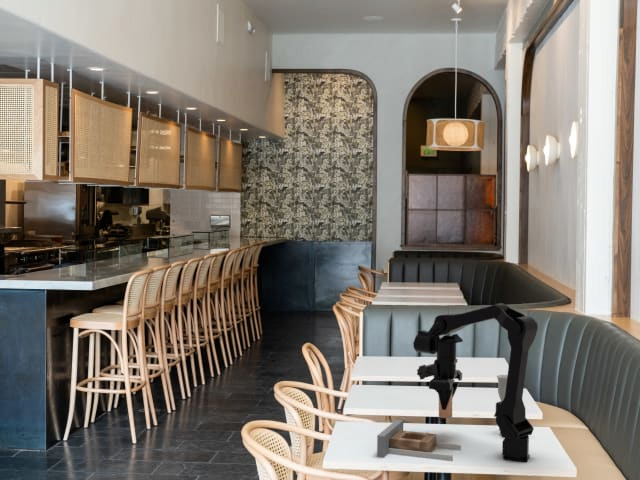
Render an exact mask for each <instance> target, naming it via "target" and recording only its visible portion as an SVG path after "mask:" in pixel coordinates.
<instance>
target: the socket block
mask: <svg viewBox="0 0 640 480" xmlns="http://www.w3.org/2000/svg"><path fill="white" fill-rule="evenodd" d="M436 442H437V433H431V432H430V433H429V432H421V431H410V430H403V431H402V430H399V431H398V432H397V433H396V434H395V435H394V436H393V437H392V438H390V448H394V449H402V450H411V451H420V452H429V453H434V451H435V450H436V449H437V448H436Z"/></svg>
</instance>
